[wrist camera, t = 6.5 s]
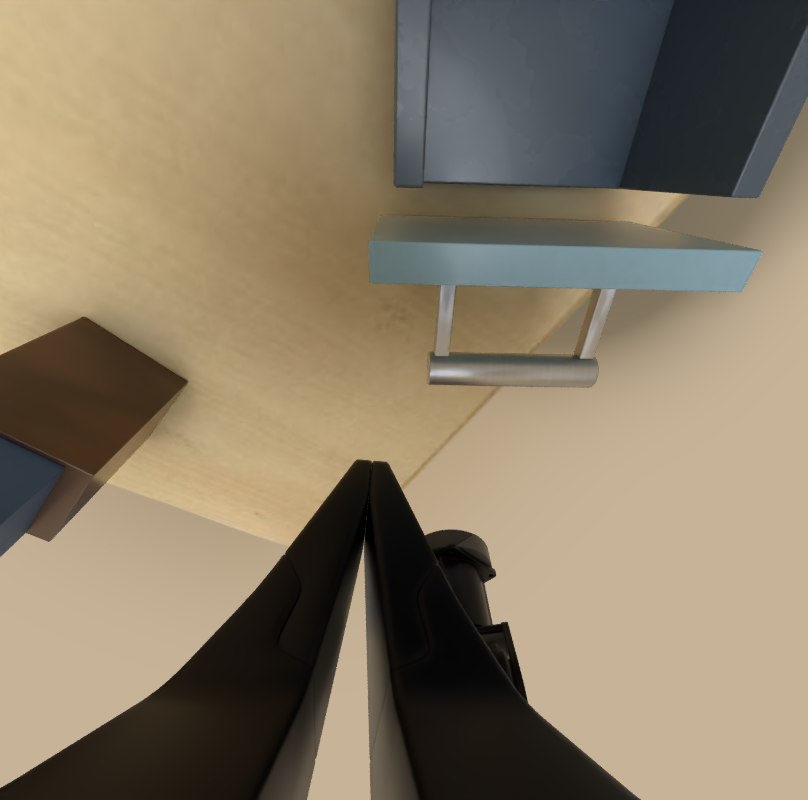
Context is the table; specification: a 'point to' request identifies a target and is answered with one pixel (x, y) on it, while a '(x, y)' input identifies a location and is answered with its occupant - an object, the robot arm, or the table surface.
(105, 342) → the brown block
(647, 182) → the freezer drawer
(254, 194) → the table surface
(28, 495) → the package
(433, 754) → the robot arm
